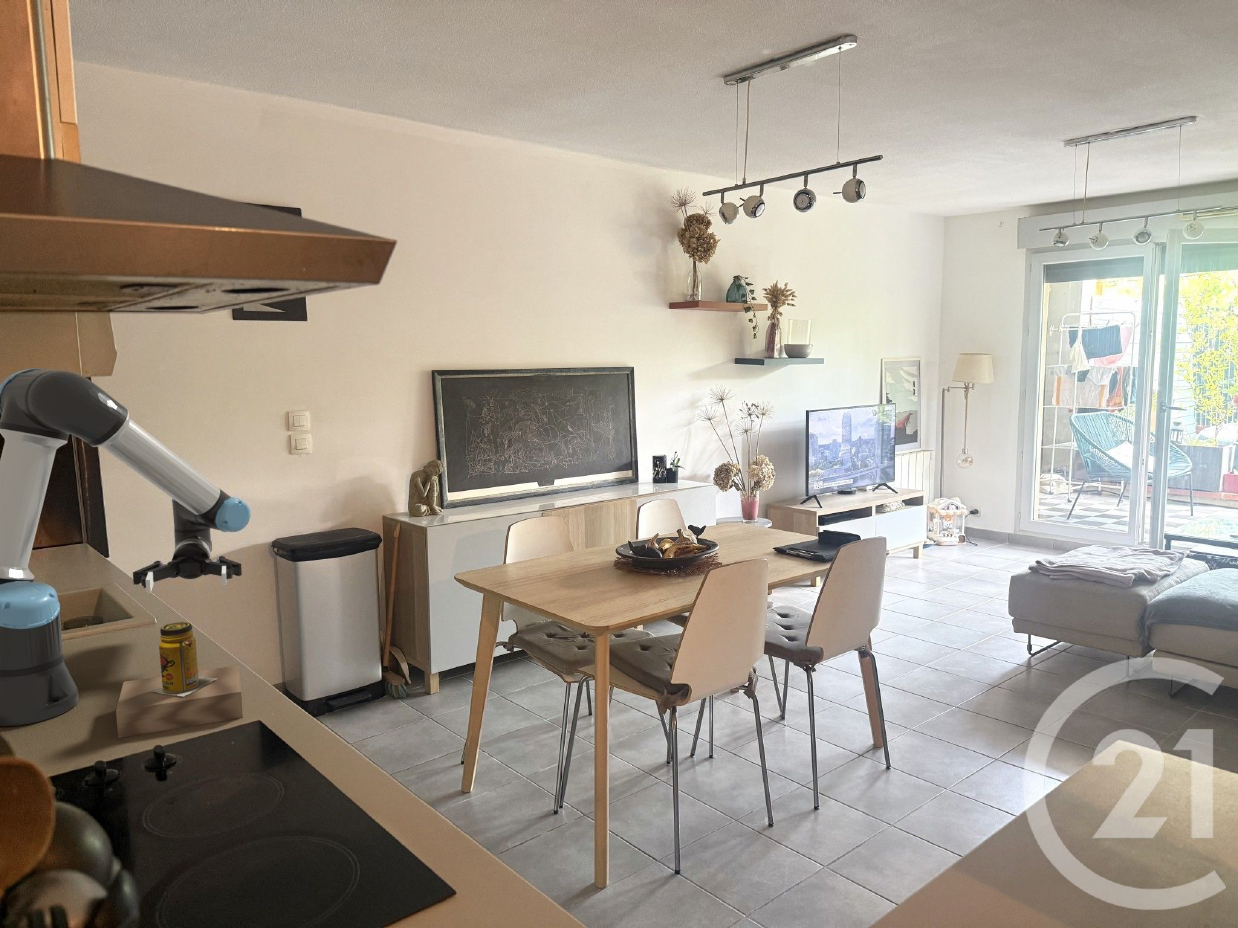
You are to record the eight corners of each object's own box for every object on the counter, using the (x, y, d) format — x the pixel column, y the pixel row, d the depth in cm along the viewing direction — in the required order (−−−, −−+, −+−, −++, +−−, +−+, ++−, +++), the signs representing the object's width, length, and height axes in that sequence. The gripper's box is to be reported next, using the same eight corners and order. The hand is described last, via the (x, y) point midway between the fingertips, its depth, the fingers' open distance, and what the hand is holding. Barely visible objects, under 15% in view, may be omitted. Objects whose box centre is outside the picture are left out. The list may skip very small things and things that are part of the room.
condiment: (151, 692, 159) (146, 629, 157) (187, 675, 167) (182, 615, 165) (183, 697, 157) (178, 634, 155) (218, 680, 165) (213, 619, 163)
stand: (118, 737, 152) (115, 710, 151) (125, 706, 164) (123, 681, 164) (242, 717, 160) (241, 691, 159) (240, 689, 173) (239, 665, 172)
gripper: (253, 570, 198) (255, 595, 179) (128, 580, 188) (116, 608, 169) (251, 538, 197) (253, 559, 178) (126, 546, 187) (113, 570, 168)
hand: (186, 583), depth 174 cm, fingers open, 13 cm apart
